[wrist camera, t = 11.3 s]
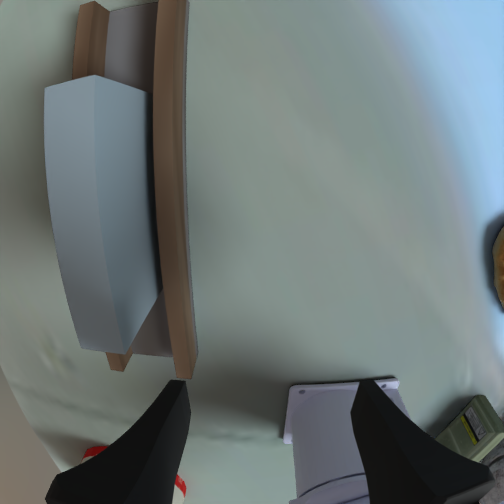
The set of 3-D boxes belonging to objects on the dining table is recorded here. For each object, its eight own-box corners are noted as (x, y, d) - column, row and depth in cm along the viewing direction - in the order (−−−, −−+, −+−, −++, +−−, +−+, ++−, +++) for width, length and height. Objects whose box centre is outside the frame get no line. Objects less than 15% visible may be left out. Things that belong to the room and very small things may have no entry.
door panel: (152, 94, 16) (95, 74, 9) (163, 288, 20) (125, 354, 13) (114, 99, 16) (44, 87, 9) (128, 286, 20) (81, 348, 13)
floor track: (189, 2, 14) (178, -18, 11) (198, 352, 23) (191, 379, 20) (101, 18, 14) (80, 5, 12) (124, 346, 23) (110, 369, 20)
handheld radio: (488, 395, 26) (367, 503, 34) (473, 391, 25) (350, 502, 33) (512, 433, 19) (372, 537, 27) (498, 432, 19) (355, 538, 27)
